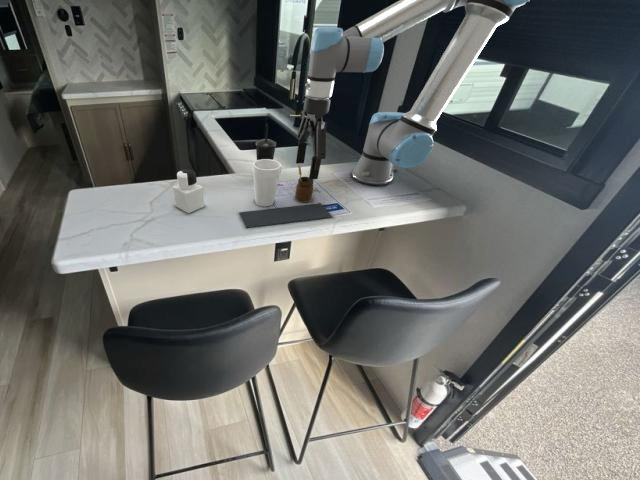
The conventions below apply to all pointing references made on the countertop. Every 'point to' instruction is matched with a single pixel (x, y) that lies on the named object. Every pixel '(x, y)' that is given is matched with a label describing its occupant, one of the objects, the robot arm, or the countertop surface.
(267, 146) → the drinking cup
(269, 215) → the edge runner mat
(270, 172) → the foam cup
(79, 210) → the countertop surface
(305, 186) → the utensil holder
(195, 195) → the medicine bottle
